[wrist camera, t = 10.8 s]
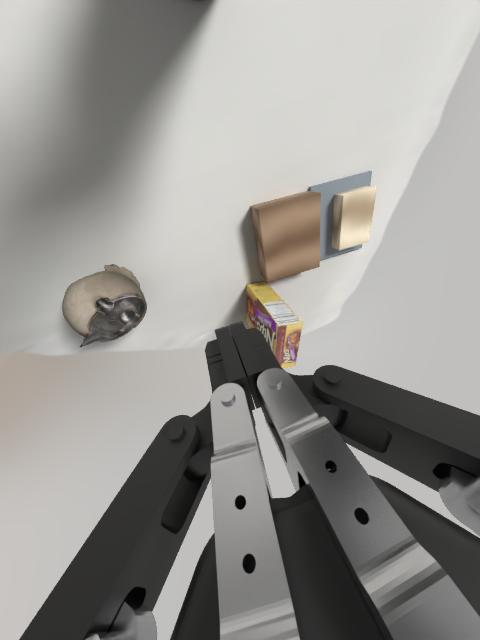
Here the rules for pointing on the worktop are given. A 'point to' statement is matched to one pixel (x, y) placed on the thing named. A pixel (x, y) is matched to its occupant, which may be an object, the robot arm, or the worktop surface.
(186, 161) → the worktop surface
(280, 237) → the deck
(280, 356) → the candy box
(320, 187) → the mat
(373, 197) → the tile
